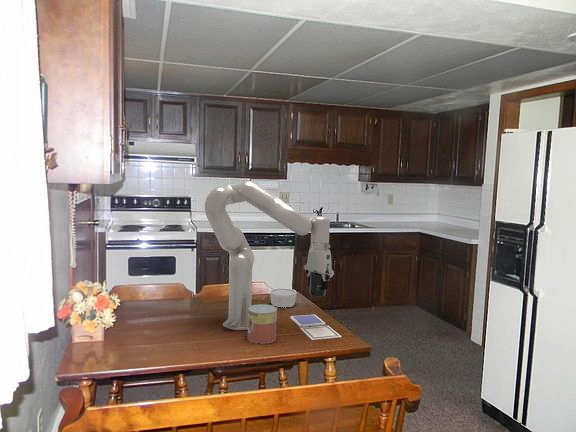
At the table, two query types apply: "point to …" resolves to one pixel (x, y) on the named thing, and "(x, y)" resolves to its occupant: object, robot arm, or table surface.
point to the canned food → (262, 323)
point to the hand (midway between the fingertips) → (317, 287)
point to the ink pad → (307, 320)
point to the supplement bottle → (316, 285)
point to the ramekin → (283, 297)
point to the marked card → (320, 332)
